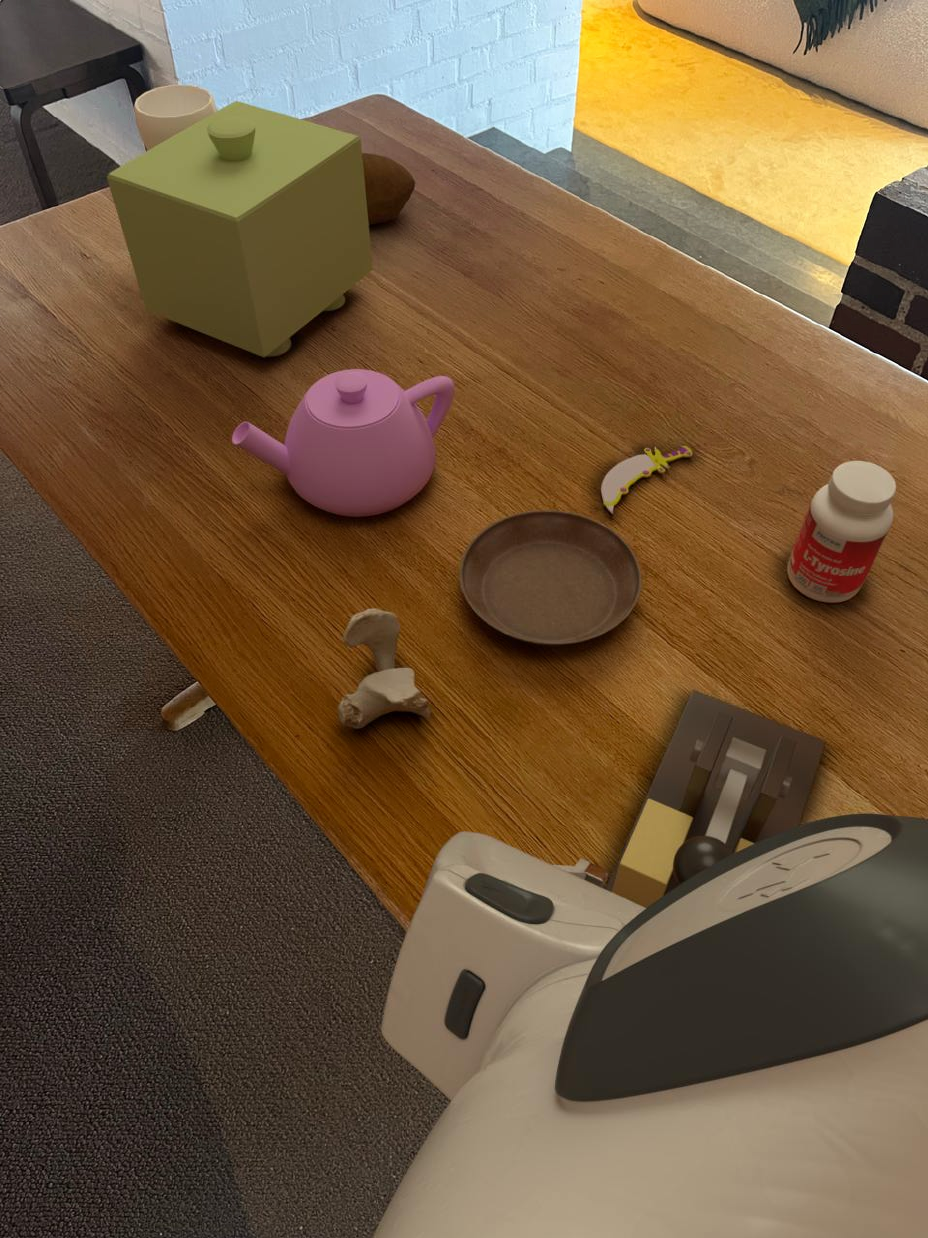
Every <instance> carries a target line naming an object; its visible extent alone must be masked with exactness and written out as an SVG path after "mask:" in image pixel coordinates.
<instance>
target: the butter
mask: <svg viewBox="0 0 928 1238" xmlns="http://www.w3.org/2000/svg"><path fill="white" fill-rule="evenodd" d="M692 821H693V817H691V816H689V815H687V814H684V813H682V812H680V811H677V810H675V809H673V808H670V807H668V806H666V805H663V804H661V803H658V802H656V801H654V800H651V799H648V800H647V802H646V804H645V807H644V809H643V811H642V814H641V816H640V818H639V820H638V823H637V825H636V827H635V830H634V832H633V834H632V836H631V839H630V841H629V843H628V846H627V848H626V850H625V852H624V855H623V857H622V859H621V862H620V864H619V868H618V872H617V875H616V879H615V883H614V887H613V890H612V893H614V894H616V895H618V896H621V897H623V898H625V899H627V900H629V901H631V902H634V903H636V904H638V905H640V906H642V907H645V908H647V907H649V906H650V905H652V904H653V903H654V902H656V901H657V900H658V899H660V898H661V897H663V895H664V893H665V890H666V888H667V885H668V883H669V880H670V878H671V875H672V872H673V860H674V857H675V854H676V852H677V850H678V849H679V847H680V846H681V845H682V844H683V843H684V842H685V839H686V836H687V834H688V831H689V829H690V826H691V823H692ZM753 844H755V843H752V842H750V841H748V840H745V839H743V838H740V840H739V842H738V844H737V846H736V848H735V850H734V853H736V852H738V851H740V850H742V849H744V848H746V847H749V846H751V845H753ZM734 853H733V854H734Z"/></svg>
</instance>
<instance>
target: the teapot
mask: <svg viewBox="0 0 928 1238" xmlns="http://www.w3.org/2000/svg"><path fill="white" fill-rule="evenodd" d="M433 395H435V396H434V401H433V403H432V404H433V405H432V407H431V410H430V413H429V415H428V417H427V419H426V418H425V415H424V414H423V412H422V411H421V409H420V407H419V406H418V405H417V404H416V403H418V402H420V401H421V400H423V399H425V398H428V397H430V396H433ZM454 397H455V383H454V381H453V380H452V378H450V377H449V376H446V375H438V376H435V377H431V378H428V379H426V380H424V381H422V382H420V383H417V384H415V385H413V386H411V387H410V388H407V389H406V390H404V389H403V388H402V387H401V386H400V385H399V384H398V383H397V382H395V381H394V380H393V379H392V378H390V377H389V376H387V375H385V374H383V373H381V372H378V371H376V370H375V371H374V370H370V369H363V368H351V369H343V370H338V371H335V372H332V373H329V374H327V375H325V376H323V377H322V378H320V379H319V380H317V381H315V382H314V383H313V384H312V385H311V386H310V388H309V389H308V390H307V392H306V393H305V394H304V396H303V397H302V399H301V400H300V401H299V404H298V405H297V407H296V408H295V410H294V412H293V414H292V416H291V418H290V421H289V423H288V426H287V429H286V433H285V439H284V444H283V443H281V442H280V441H278V440H277V439H275V438H274V437H273V436H271V435H269V434H267V433H266V432H264V431H263V430H262V429H260V428H258V427H257V426H255V425H253V423H250V422H249V421H246V420H245V421H242V422H241V423H240V424H239V425H237V426H236V428H235V430H234V431H233V433H232V437H231V442H232V444H233V445H235V446H237V447H239V448H240V449H242V450H243V451H245V452H247V453H248V454H250V455H252V456H253V457H256V458H257V459H259V460H260V461H262V462H263V463H266V464H267V465H269V466H270V467H272V468H274V469H275V470H277V471H279V472H281V473H282V474H284V475H285V476H286V478H287V479H288V480H287V481H288V482H289V484H290V486H291V487H292V488H293V489H294V491H295V492H296V493H297V494H298V496H299V497H300V498H302V499H303V500H305V501H306V503H309V504H311V505H312V506H314V507H316V508H318V509H320V510H322V511H325V512H328V513H330V514H333V515H336V516H342V517H350V518H363V517H364V518H365V517H372V516H378V515H382V514H386V513H388V512H390V511H393V510H395V509H396V508H397V509H398V507H401V506H402V505H404V504H406V503H407V502H408V501H410V500H411V499H413V498H414V497H415V496H416V495H417V494H418V493H420V492H421V491H422V490H423V488H424V487H425V486H426V485H427V484H428V482H429V480H430V479H431V478H432V477H431V476H432V475H433V472H434V469H435V465H436V461H437V460H436V457H437V455H436V447H435V441H434V438H435V435H436V434H437V432H438V430H439V428H440V427H441V425H442V423H443V422H444V420H445V418H446V416H447V414H448V412H449V410H450V408H451V406H452V404H453V400H454Z"/></svg>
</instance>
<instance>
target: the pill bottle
mask: <svg viewBox="0 0 928 1238" xmlns="http://www.w3.org/2000/svg"><path fill="white" fill-rule="evenodd" d="M896 490H897V483H896V481H895V479H894V477H893V475H892V474H891V473H890V472H888V471H887V470H886V469H885V468H884V467H881V466H880V465H877V464H875V463H872V462H870V461H864V460H850V461H845V462H843V463H841V464H839V465H838V466H836V467H835V469H834V470H833V472H832V475H831V476H830V478H829V480H828V483H827V484H825V485H824V486H821V488H819V489H818V490H817V491H816V493H815V494H814V495H813V497H812V500H811V501H810V505H809V507H808V508H807V509H808V510H807V512H806V515H805V517H804V520H803V523H802V525H801V527H800V530H799V533H798V536H797V538H796V540H795V544H794V546H793V548H792V551H791V554H790V556H789V558H788V561H787V568H786V570H787V576H788V580H789V581H790V583H791V584H792V586H793V587H794V588H795V589H796V590H797V591H798V592H800V593H801V594H803V596H805V597H807V598H810V599H812V600H815V601H818V602H822V603H831V604H833V603H834V604H836V603H843V602H845V601H848V600H850V599H852V598H853V597H855V596H856V595H857V594H858V593H859V591H860V590H861V588H862V586H863V585H864V582H865V581H866V579H867V577H868V575H869V572H870V571H871V569H872V566H873V564H874V562H875V560H876V558H877V556H878V554H879V552H880V550H881V547H882V546H883V544H884V542H885V539H886V537H887V535H888V534H889V531H890V530H891V528H892V525H893V521H894V510H893V506H892V504H891V503H892V501H893V499H894V496H895V494H896Z"/></svg>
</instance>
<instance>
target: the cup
mask: <svg viewBox="0 0 928 1238" xmlns="http://www.w3.org/2000/svg"><path fill="white" fill-rule="evenodd" d="M133 108H134V109H133V110H134V117H135V125H136V126H137V130H138V133H139V136H140V138H141V139H140V140H141V142H142V143H143V145H144V147H145V149H146V151H148V150H150V149H152V148H153V147H155V146H157V145H159V144H160V143H162V142H164V141H165V140H167V139H169V138H171V137H172V136H174V135H176V134H178V133H179V132H181V131H183V130H185V129H186V128H188V127H190V126H192V125H194V124H195V123H197V122H199V121H201V120H202V119H204V118H206V117H208V116H209V115H211V114H213V113H215V112H217V111H218V108H217V105H216V103H215V98H214V97H213V95H212V93H211V92H210V91H209V90H208V89H205V88H203V87H202V86H198V85H192V84H171V85H170V84H168V85H164V86H159V87H155V88H152V89H150V90H148V91H144V92H143V93H142V94H140V96H138V97H137V98H136V99H135V102H134V104H133Z"/></svg>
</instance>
